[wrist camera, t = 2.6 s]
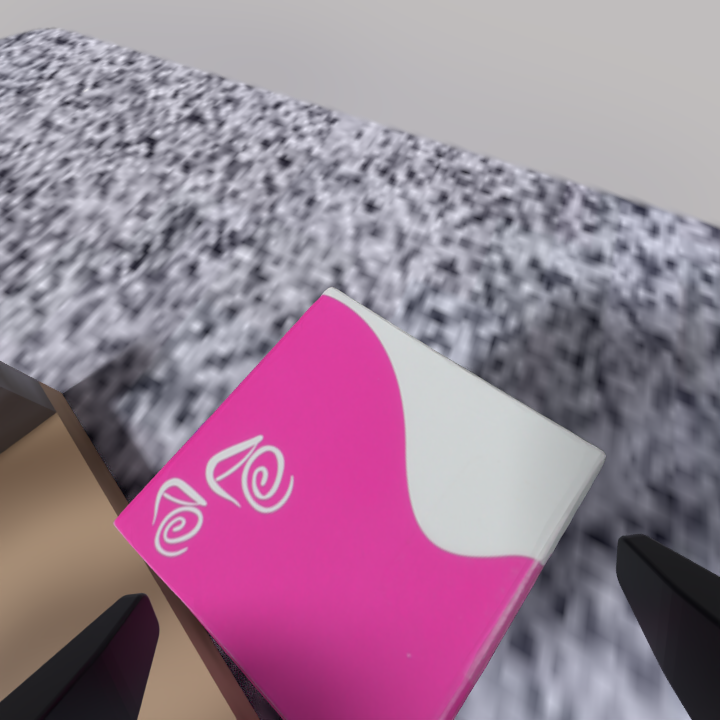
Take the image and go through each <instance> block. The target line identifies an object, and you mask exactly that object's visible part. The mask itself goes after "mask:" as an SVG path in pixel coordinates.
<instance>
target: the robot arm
mask: <svg viewBox="0 0 720 720" xmlns="http://www.w3.org/2000/svg"><path fill="white" fill-rule="evenodd" d="M616 573H617V578H618V581H619V584H620V586H621V588H622V590H623V592H624V594H625V596H626V598H627V600H628V602H629V604H630V606H631V608H632V610H633V612H634V615H635V617H636V619H637V621H638V623H639V625H640V627H641V629H642V631H643V633H644V635H645V637H646V639H647V641H648V643H649V645H650V647H651V649H652V651H653V653H654V655H655V657H656V659H657V661H658V663H659V665H660V667H661V669H662V671H663V673H664V674H665V676H666V678H667V680H668V681H669V683H670V685H671V687H672V688H673V690H674V691H675V693H676V695H677V696H678V698H679V700H680V701H681V703H682V705H683V706H684V708H685V710H686V711H687V713H688V714H689V716H690V718H691V719H692V720H720V577H719V576H717V575H716V574H714V573H712V572H710V571H708V570H707V569H705V568H703V567H701V566H700V565H698V564H696V563H694V562H693V561H691V560H689V559H687V558H686V557H684V556H682V555H680V554H678V553H677V552H675V551H673V550H671V549H670V548H668V547H666V546H664V545H663V544H661V543H659V542H657V541H656V540H654V539H652V538H650V537H648V536H646V535H644V534H633V535H625V536H621V537H620V538H619V540H618V546H617V563H616ZM159 632H160V627H159V622H158V619H157V617H156V614H155V612H154V609H153V607H152V604H151V602H150V599H149V597H148V596H147V595H146V594H145V593H137V594H128V595H124V596H122V597H121V598H120V599H118V600H117V601H116V602H115V603H114V604H113V605H111V606H110V607H109V608H108V609H107V610H106V611H104V612H103V613H102V614H101V615H100V616H99V617H98V618H96V619H95V620H94V621H93V622H92V623H91V624H90V625H88V626H87V627H86V628H85V629H84V630H83V631H81V632H80V633H79V634H78V635H77V636H76V637H75V638H73V639H72V640H71V641H70V642H69V643H68V644H66V645H65V646H64V647H63V648H62V649H61V650H60V651H58V652H57V653H56V654H55V655H54V656H53V657H51V658H50V659H49V660H48V661H47V662H46V663H45V664H43V665H42V666H41V667H40V668H39V669H38V670H36V671H35V672H34V673H33V674H32V675H31V676H30V677H28V678H27V679H26V680H25V681H24V682H23V683H21V684H20V685H19V686H18V687H17V688H16V689H15V690H13V691H12V692H11V693H10V694H9V695H8V696H6V697H5V698H4V699H3V700H2V701H1V702H0V720H137V719H138V715H139V712H140V708H141V704H142V700H143V696H144V693H145V689H146V685H147V681H148V677H149V673H150V670H151V666H152V662H153V658H154V654H155V650H156V646H157V643H158V639H159Z"/></svg>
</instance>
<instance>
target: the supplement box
mask: <svg viewBox="0 0 720 720" xmlns="http://www.w3.org/2000/svg"><path fill="white" fill-rule="evenodd" d="M605 459H606V455H605V453H604V451H602V450H600V449H599V448H597V447H596V446H594V445H592V444H590V443H588V442H587V441H585V440H583V439H582V438H580V437H579V436H577V435H575V434H574V433H572V432H571V431H569V430H567V429H566V428H564V427H562V426H560V425H559V424H557V423H555V422H554V421H552V420H550V419H548V418H547V417H545V416H543V415H542V414H540V413H538V412H537V411H535V410H533V409H532V408H530V407H529V406H527V405H525V404H524V403H522V402H520V401H518V400H517V399H515V398H513V397H512V396H510V395H508V394H507V393H505V392H503V391H502V390H500V389H498V388H497V387H495V386H493V385H492V384H490V383H488V382H487V381H485V380H483V379H482V378H480V377H478V376H477V375H475V374H474V373H472V372H470V371H469V370H467V369H465V368H464V367H462V366H460V365H459V364H457V363H455V362H453V361H452V360H450V359H448V358H447V357H445V356H443V355H442V354H440V353H438V352H437V351H435V350H433V349H432V348H430V347H429V346H427V345H425V344H424V343H422V342H421V341H419V340H417V339H416V338H414V337H413V336H411V335H409V334H408V333H406V332H405V331H403V330H401V329H400V328H398V327H397V326H395V325H394V324H392V323H390V322H389V321H387V320H386V319H384V318H382V317H381V316H379V315H378V314H376V313H374V312H373V311H371V310H369V309H368V308H366V307H365V306H363V305H362V304H360V303H358V302H357V301H355V300H353V299H351V298H350V297H348V296H347V295H345V294H344V293H342V292H341V291H339V290H338V289H336V288H334V287H330V288H328V289H327V290H326V291H325V292H324V293H323V294H322V295H321V297H320V298H319V299H318V300H317V301H316V302H315V303H314V304H313V305H312V306H311V307H310V308H309V309H308V310H307V311H306V312H305V314H304V315H303V316H302V317H301V318H300V319H299V321H298V322H297V323H296V324H295V325H294V326H293V327H292V328H291V329H290V330H289V331H288V332H287V333H286V334H285V335H284V337H283V338H282V339H281V340H280V341H279V342H278V343H277V344H276V345H275V346H274V347H273V349H272V350H271V351H270V352H269V353H268V354H267V355H266V356H265V357H264V358H263V359H262V360H261V362H260V363H259V364H258V365H257V366H256V367H255V368H254V369H253V370H252V371H251V372H250V374H249V375H248V376H247V377H246V378H245V379H244V380H243V381H242V382H241V383H240V384H239V385H238V387H237V388H236V389H235V390H234V391H233V392H232V393H231V394H230V395H229V396H228V398H227V399H226V400H225V401H224V402H223V403H222V404H221V405H220V406H219V408H218V409H217V410H216V411H215V412H214V413H213V414H212V415H211V416H210V417H209V418H208V419H207V420H206V421H205V422H204V423H203V424H202V425H201V426H200V428H199V429H198V430H197V431H196V432H195V433H194V434H193V436H192V437H191V438H190V439H189V440H188V441H187V442H186V443H185V444H184V445H183V446H182V447H181V449H180V450H179V451H178V452H177V453H176V454H175V455H174V456H173V457H172V458H171V459H170V460H169V461H168V462H167V464H166V465H165V466H164V467H163V468H162V469H161V470H160V471H159V472H158V473H157V474H156V476H155V477H154V478H153V479H152V480H151V481H150V482H149V483H148V484H147V485H146V486H145V487H144V489H143V490H142V491H141V492H140V493H139V494H138V495H137V496H136V497H135V498H134V499H133V500H132V502H131V503H130V504H129V505H128V506H127V507H126V508H125V509H124V510H123V511H122V513H121V514H120V515H119V516H118V517H117V518H116V519H115V520H114V523H113V524H114V526H115V527H116V528H117V529H118V531H119V532H120V533H121V534H122V535H123V537H124V538H125V539H126V540H127V541H128V543H129V544H130V545H131V546H132V547H133V548H134V549H135V550H136V551H137V553H138V554H139V555H140V556H141V557H142V558H143V559H144V561H145V562H146V563H147V564H148V565H149V566H150V567H151V568H152V569H153V571H154V572H155V573H156V574H157V575H158V576H159V577H160V578H161V579H162V580H163V581H164V582H165V583H166V585H167V586H168V587H169V588H170V589H171V590H172V591H173V592H174V593H175V594H176V595H177V596H178V597H179V598H180V599H181V600H182V602H183V603H184V604H185V605H186V606H187V607H188V608H189V610H190V611H191V612H192V613H193V614H194V616H195V617H196V618H197V619H198V620H199V622H200V623H201V624H202V625H203V626H204V628H205V629H206V630H207V631H208V632H209V633H210V635H211V636H212V637H213V638H214V639H215V641H216V642H217V643H218V644H219V645H220V646H221V648H222V649H223V650H224V651H225V652H226V654H227V655H228V656H229V657H230V658H231V659H232V660H233V662H234V663H235V664H236V665H237V666H238V667H239V668H240V669H241V671H242V672H243V673H244V674H245V676H246V677H247V678H248V679H249V681H250V682H251V683H252V684H253V685H254V686H255V688H256V689H257V690H258V691H259V692H260V693H261V694H262V696H263V697H264V698H265V699H266V700H267V701H268V703H269V704H270V705H271V706H272V707H273V708H274V709H275V711H276V712H277V713H278V714H279V715H280V717H281V718H282V719H283V720H454V718H455V717H456V715H457V713H458V712H459V710H460V708H461V707H462V705H463V703H464V702H465V700H466V699H467V697H468V695H469V694H470V692H471V690H472V689H473V687H474V685H475V684H476V682H477V681H478V679H479V677H480V676H481V674H482V673H483V671H484V669H485V668H486V666H487V664H488V662H489V661H490V659H491V657H492V655H493V654H494V652H495V650H496V648H497V647H498V645H499V643H500V641H501V640H502V638H503V636H504V635H505V633H506V631H507V629H508V628H509V626H510V624H511V623H512V621H513V619H514V618H515V616H516V614H517V612H518V611H519V609H520V607H521V606H522V604H523V602H524V601H525V599H526V597H527V595H528V594H529V592H530V590H531V588H532V587H533V585H534V583H535V581H536V580H537V578H538V576H539V574H540V572H541V571H542V569H543V567H544V565H545V564H546V562H547V560H548V559H549V557H550V556H551V555H552V553H553V551H554V549H555V547H556V546H557V544H558V542H559V540H560V538H561V537H562V535H563V533H564V532H565V530H566V529H567V527H568V525H569V524H570V522H571V520H572V518H573V516H574V515H575V513H576V511H577V509H578V508H579V506H580V504H581V503H582V501H583V500H584V498H585V496H586V495H587V493H588V491H589V489H590V487H591V485H592V484H593V482H594V480H595V479H596V477H597V475H598V474H599V472H600V470H601V468H602V466H603V464H604V462H605Z"/></svg>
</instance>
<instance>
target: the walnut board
mask: <svg viewBox="0 0 720 720" xmlns="http://www.w3.org/2000/svg"><path fill="white" fill-rule="evenodd" d="M128 505H129V503H128V501H127V500H126V498H125V497H124V495H123V493H122V492H121V490H120V488H119V487H118V485H117V483H116V482H115V480H114V478H113V477H112V475H111V473H110V472H109V470H108V469H107V467H106V465H105V464H104V462H103V460H102V459H101V457H100V455H99V454H98V452H97V450H96V449H95V447H94V445H93V444H92V442H91V441H90V439H89V437H88V436H87V434H86V432H85V431H84V429H83V427H82V426H81V424H80V422H79V421H78V419H77V417H76V416H75V414H74V413H73V411H72V409H71V408H70V406H69V404H68V403H67V401H66V399H65V398H64V396H63V394H62V393H60V392H59V391H57V390H55V389H53V388H51V387H49V386H47V385H45V384H43V383H41V382H39V381H37V380H36V379H34V378H32V377H30V376H28V375H26V374H24V373H22V372H20V371H18V370H16V369H14V368H13V367H11V366H9V365H7V364H5V363H3V362H1V361H0V702H1V701H2V700H3V699H4V698H5V697H6V696H8V695H9V694H10V693H11V692H12V691H13V690H15V689H16V688H17V687H18V686H19V685H20V684H21V683H23V682H24V681H25V680H26V679H27V678H28V677H30V676H31V675H32V674H33V673H34V672H35V671H36V670H38V669H39V668H40V667H41V666H42V665H43V664H45V663H46V662H47V661H48V660H49V659H50V658H51V657H53V656H54V655H55V654H56V653H57V652H58V651H60V650H61V649H62V648H63V647H64V646H65V645H66V644H68V643H69V642H70V641H71V640H72V639H73V638H75V637H76V636H77V635H78V634H79V633H80V632H81V631H83V630H84V629H85V628H86V627H87V626H88V625H90V624H91V623H92V622H93V621H94V620H95V619H96V618H98V617H99V616H100V615H101V614H102V613H103V612H104V611H106V610H107V609H108V608H109V607H110V606H111V605H113V604H114V603H115V602H116V601H117V600H118V599H120V598H121V597H122V596H124V595H128V594H137V593H145V594H146V595H147V596H148V597H149V599H150V602H151V604H152V607H153V609H154V612H155V614H156V617H157V619H158V622H159V627H160V632H159V639H158V643H157V646H156V650H155V654H154V658H153V662H152V666H151V670H150V673H149V677H148V681H147V685H146V689H145V693H144V696H143V700H142V704H141V708H140V712H139V715H138V719H137V720H260V719H259V717H258V716H257V714H256V712H255V711H254V709H253V707H252V706H251V704H250V702H249V701H248V699H247V697H246V696H245V694H244V693H243V691H242V689H241V688H240V686H239V684H238V683H237V681H236V679H235V678H234V676H233V674H232V673H231V671H230V669H229V668H228V666H227V665H226V663H225V661H224V660H223V658H222V656H221V655H220V653H219V651H218V650H217V648H216V646H215V645H214V643H213V641H212V640H211V638H210V637H209V635H208V633H207V632H206V630H205V628H204V627H203V625H202V624H201V623H200V622H199V620H198V619H197V618H196V617H195V616H194V614H193V613H192V612H191V611H190V610H189V608H188V607H187V606H186V605H185V604H184V603H183V602H182V600H181V599H180V598H179V597H178V596H177V595H176V594H175V593H174V592H173V591H172V590H171V589H170V588H169V587H168V586H167V585H166V583H165V582H164V581H163V580H162V579H161V578H160V577H159V576H158V575H157V574H156V573H155V572H154V571H153V569H152V568H151V567H150V566H149V565H148V564H147V563H146V562H145V561H144V559H143V558H142V557H141V556H140V555H139V554H138V553H137V551H136V550H135V549H134V548H133V547H132V546H131V545H130V544H129V543H128V541H127V540H126V539H125V538H124V537H123V535H122V534H121V533H120V532H119V531H118V529H117V528H116V527H115V526H114V524H113V523H114V520H115V519H116V518H117V517H118V516H119V515H120V514H121V513H122V511H123V510H124V509H125V508H126V507H127V506H128Z"/></svg>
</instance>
